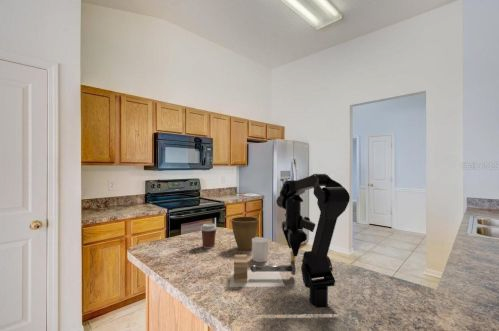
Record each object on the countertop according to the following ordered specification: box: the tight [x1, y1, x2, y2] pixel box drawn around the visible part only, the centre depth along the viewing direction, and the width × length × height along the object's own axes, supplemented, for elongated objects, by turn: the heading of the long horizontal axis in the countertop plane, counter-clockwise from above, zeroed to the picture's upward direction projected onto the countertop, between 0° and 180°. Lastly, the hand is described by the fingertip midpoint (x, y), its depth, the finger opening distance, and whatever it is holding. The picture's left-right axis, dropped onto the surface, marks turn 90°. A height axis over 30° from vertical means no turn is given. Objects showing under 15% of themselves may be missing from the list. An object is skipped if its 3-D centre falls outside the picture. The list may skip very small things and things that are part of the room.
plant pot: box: [230, 216, 259, 251], centre depth 129 cm, size 15×15×16 cm
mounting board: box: [228, 269, 286, 288], centre depth 92 cm, size 14×20×1 cm
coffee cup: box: [200, 223, 218, 249], centre depth 131 cm, size 9×9×12 cm
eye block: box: [233, 254, 248, 283], centre depth 92 cm, size 8×5×8 cm, turn 2°
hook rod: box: [250, 251, 296, 276], centre depth 92 cm, size 5×18×9 cm, turn 92°
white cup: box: [251, 236, 269, 263], centre depth 111 cm, size 8×8×10 cm
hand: (292, 251), depth 93 cm, fingers open, 9 cm apart
